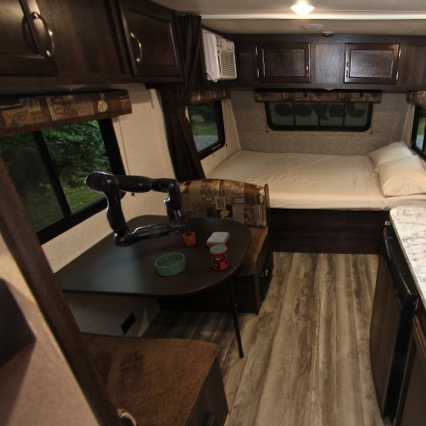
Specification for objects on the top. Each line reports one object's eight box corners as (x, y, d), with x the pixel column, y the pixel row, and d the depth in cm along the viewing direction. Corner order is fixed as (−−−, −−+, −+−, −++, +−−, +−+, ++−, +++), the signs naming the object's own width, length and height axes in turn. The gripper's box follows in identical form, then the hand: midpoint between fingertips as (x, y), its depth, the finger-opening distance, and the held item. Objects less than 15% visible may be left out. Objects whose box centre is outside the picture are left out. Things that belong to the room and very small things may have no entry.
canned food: (210, 266, 150) (207, 248, 145) (224, 260, 155) (221, 242, 150) (217, 273, 145) (214, 254, 140) (231, 266, 150) (229, 248, 145)
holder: (184, 242, 170) (182, 233, 167) (195, 240, 173) (193, 230, 170) (186, 247, 165) (184, 237, 163) (197, 244, 168) (195, 235, 165)
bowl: (156, 264, 150) (153, 256, 148) (184, 257, 156) (182, 249, 154) (157, 279, 140) (155, 270, 138) (188, 270, 146) (186, 262, 144)
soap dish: (223, 250, 164) (222, 242, 161) (206, 249, 164) (204, 241, 162) (230, 239, 175) (229, 231, 173) (214, 238, 175) (213, 231, 173)
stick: (188, 242, 169) (182, 214, 161) (192, 241, 170) (186, 214, 162) (188, 244, 167) (183, 216, 160) (192, 243, 168) (187, 215, 161)
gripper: (157, 229, 150) (193, 222, 158) (156, 219, 161) (189, 213, 169) (160, 242, 153) (195, 234, 161) (159, 231, 164) (191, 224, 172)
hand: (192, 223), depth 165 cm, fingers closed on stick, 2 cm apart
